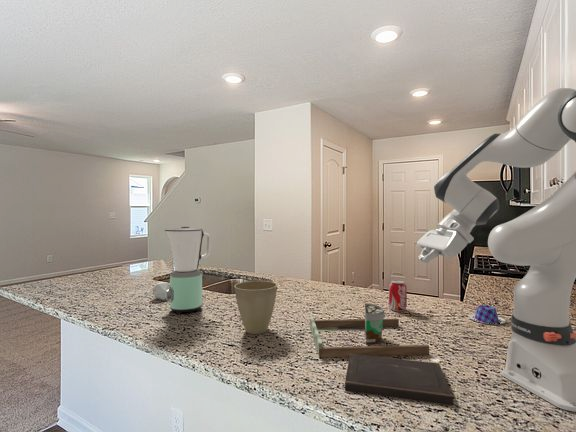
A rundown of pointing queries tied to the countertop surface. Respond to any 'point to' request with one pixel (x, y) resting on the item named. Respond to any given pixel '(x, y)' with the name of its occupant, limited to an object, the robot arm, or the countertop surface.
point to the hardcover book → (397, 379)
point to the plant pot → (256, 304)
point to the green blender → (186, 269)
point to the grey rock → (160, 290)
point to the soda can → (397, 295)
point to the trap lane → (359, 350)
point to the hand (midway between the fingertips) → (422, 260)
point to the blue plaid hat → (486, 315)
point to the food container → (373, 323)
